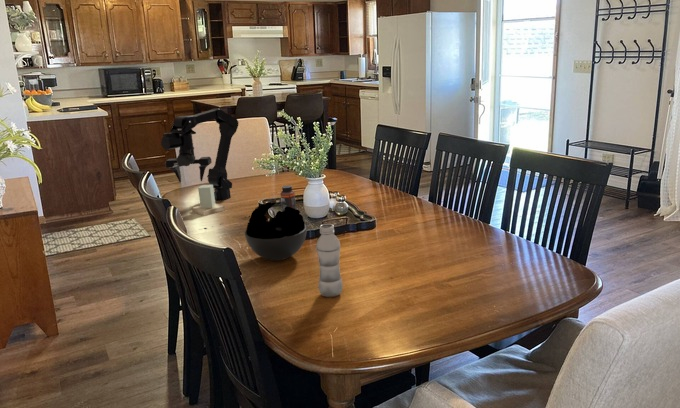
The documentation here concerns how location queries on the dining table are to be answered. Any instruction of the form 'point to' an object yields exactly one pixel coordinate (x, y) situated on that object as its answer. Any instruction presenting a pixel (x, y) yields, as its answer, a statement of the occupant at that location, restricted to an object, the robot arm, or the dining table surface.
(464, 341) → the dining table surface
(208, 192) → the sage block
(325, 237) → the plastic bottle
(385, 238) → the dining table surface
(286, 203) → the supplement bottle
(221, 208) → the birch slab
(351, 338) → the dining table surface
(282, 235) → the bowl of black rocks
